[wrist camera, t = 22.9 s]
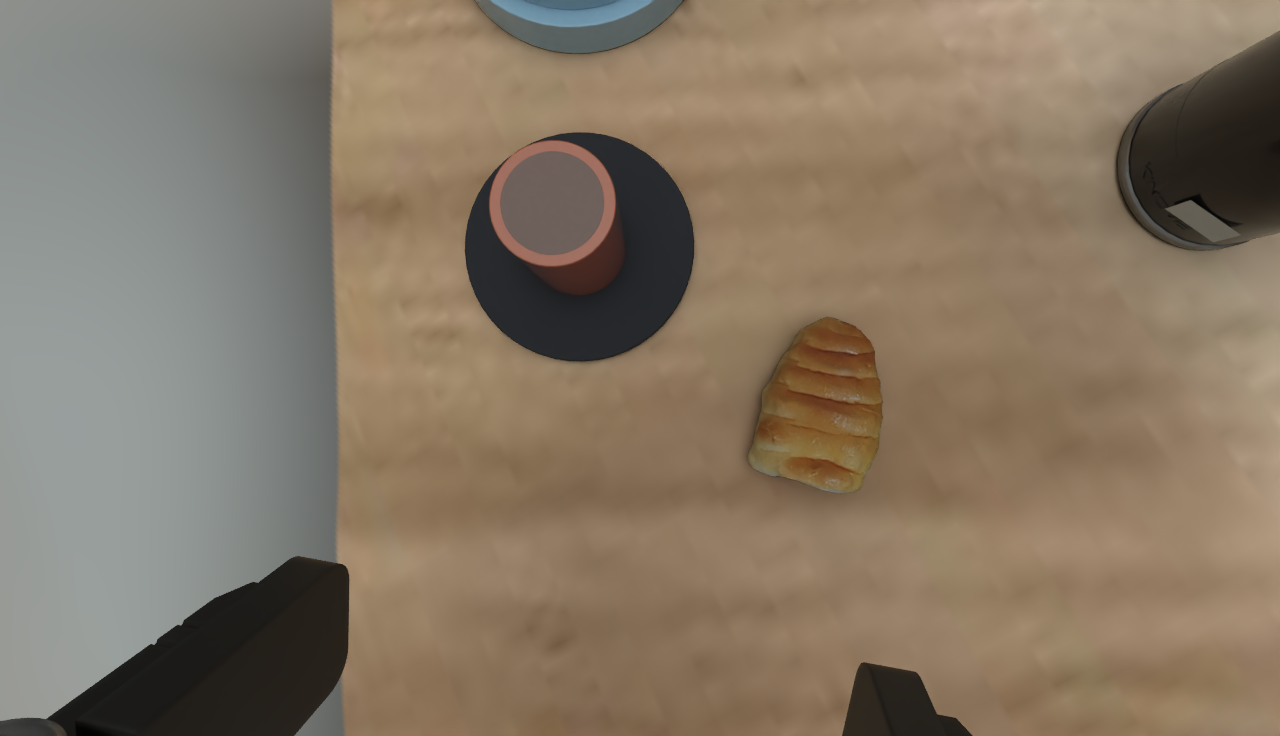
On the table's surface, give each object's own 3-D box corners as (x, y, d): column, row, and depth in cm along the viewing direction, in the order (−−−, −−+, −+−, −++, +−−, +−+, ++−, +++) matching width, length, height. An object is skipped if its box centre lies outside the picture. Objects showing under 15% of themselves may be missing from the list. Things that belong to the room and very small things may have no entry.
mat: (615, 94, 37) (614, 88, 36) (736, 283, 36) (738, 281, 35) (426, 215, 37) (421, 211, 36) (545, 404, 36) (542, 404, 35)
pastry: (775, 310, 36) (790, 301, 32) (891, 335, 36) (920, 329, 32) (741, 470, 36) (751, 481, 32) (857, 496, 36) (882, 509, 32)
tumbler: (593, 182, 36) (572, 115, 27) (644, 262, 36) (640, 222, 26) (512, 233, 36) (464, 183, 27) (562, 313, 36) (531, 291, 27)
